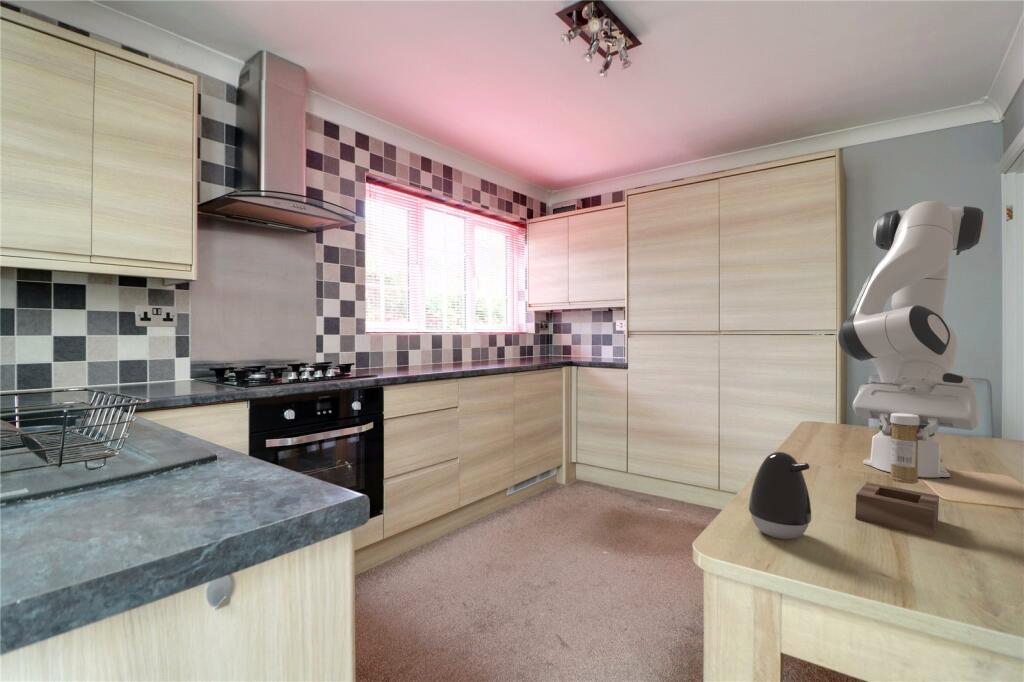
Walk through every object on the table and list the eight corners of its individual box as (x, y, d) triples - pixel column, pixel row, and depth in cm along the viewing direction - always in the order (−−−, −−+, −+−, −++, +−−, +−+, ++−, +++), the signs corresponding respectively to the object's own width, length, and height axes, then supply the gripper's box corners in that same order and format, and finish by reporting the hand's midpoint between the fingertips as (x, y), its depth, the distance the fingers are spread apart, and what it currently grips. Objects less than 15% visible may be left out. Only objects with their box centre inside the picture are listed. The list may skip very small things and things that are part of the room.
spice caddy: (866, 504, 109) (866, 481, 109) (937, 520, 100) (938, 495, 100) (855, 518, 100) (856, 494, 100) (932, 537, 92) (934, 510, 92)
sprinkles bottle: (921, 482, 99) (923, 415, 99) (913, 485, 96) (914, 416, 96) (894, 476, 102) (895, 412, 102) (885, 480, 100) (886, 413, 100)
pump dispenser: (785, 549, 85) (788, 462, 84) (735, 527, 94) (738, 448, 94) (824, 540, 89) (828, 457, 88) (773, 519, 98) (776, 444, 98)
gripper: (858, 372, 112) (840, 419, 106) (981, 378, 95) (968, 434, 89) (865, 390, 114) (848, 437, 109) (986, 400, 98) (974, 456, 92)
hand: (903, 436), depth 99 cm, fingers closed on sprinkles bottle, 4 cm apart
